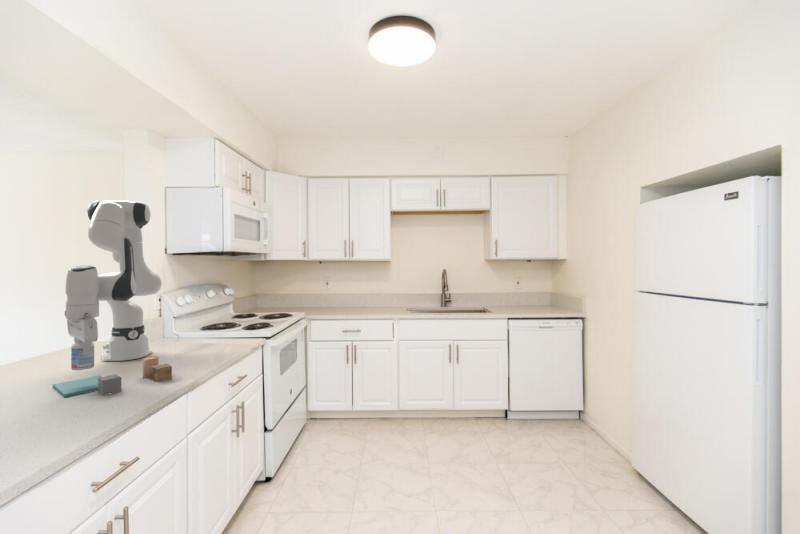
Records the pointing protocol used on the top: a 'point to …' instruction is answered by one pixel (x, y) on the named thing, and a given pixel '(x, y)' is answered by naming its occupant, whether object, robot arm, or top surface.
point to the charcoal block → (109, 384)
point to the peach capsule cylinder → (149, 365)
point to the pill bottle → (81, 356)
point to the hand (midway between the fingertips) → (83, 351)
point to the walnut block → (161, 372)
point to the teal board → (77, 386)
